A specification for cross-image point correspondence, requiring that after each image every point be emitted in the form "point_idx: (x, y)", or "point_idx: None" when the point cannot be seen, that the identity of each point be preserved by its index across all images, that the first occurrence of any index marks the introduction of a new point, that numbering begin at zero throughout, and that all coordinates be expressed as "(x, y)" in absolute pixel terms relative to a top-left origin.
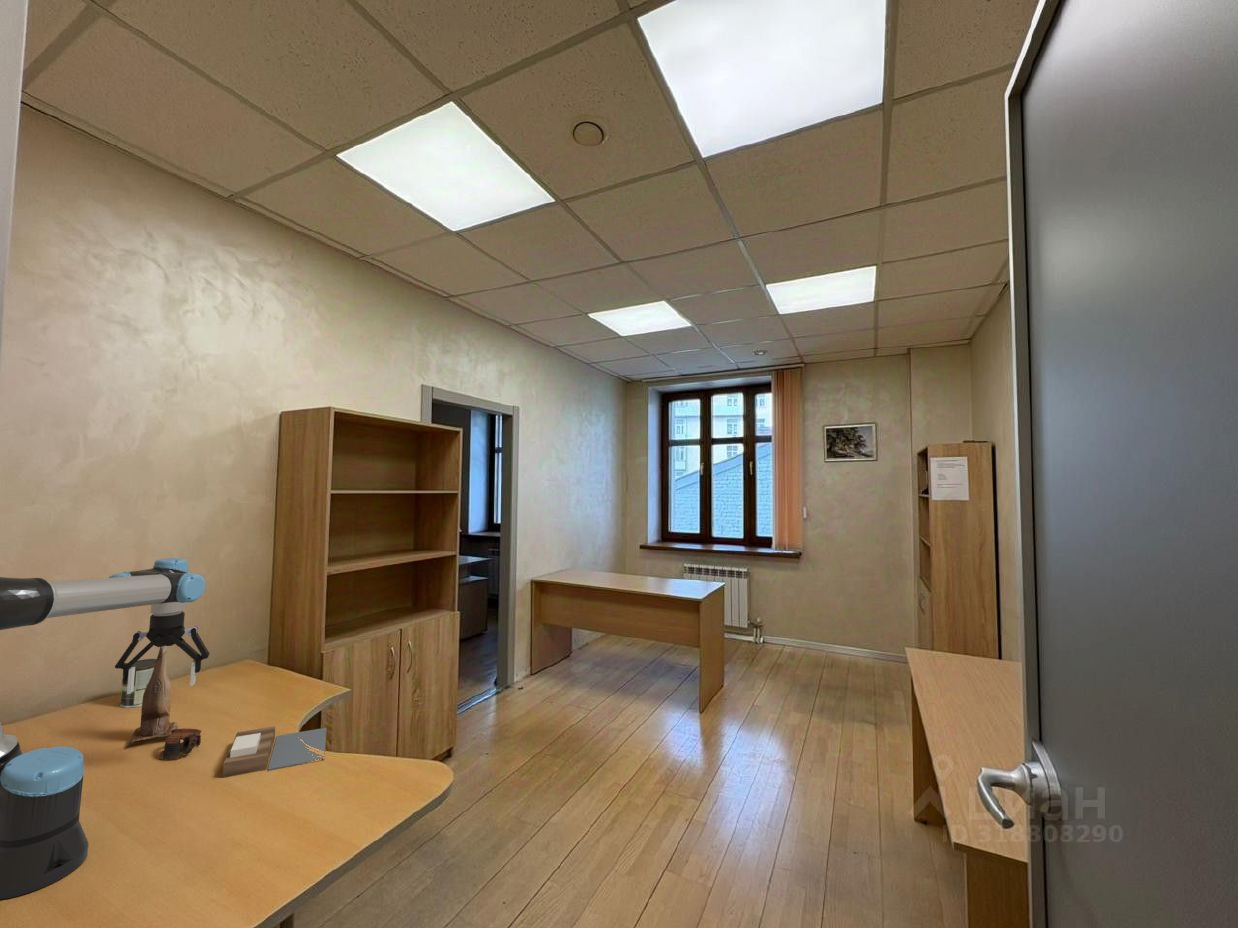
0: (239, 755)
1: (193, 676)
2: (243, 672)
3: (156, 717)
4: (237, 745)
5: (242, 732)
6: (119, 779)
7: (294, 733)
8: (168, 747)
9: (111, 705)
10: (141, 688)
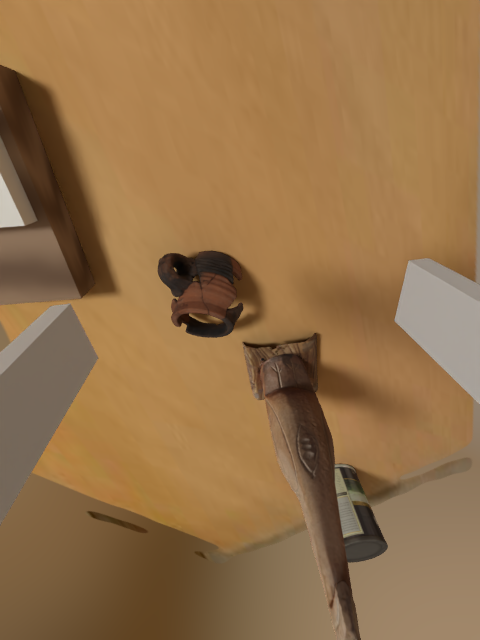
0: None
1: (10, 347)
2: (220, 527)
3: (285, 388)
4: None
5: (65, 291)
6: (292, 186)
7: None
8: (222, 269)
9: (365, 473)
10: (340, 496)
